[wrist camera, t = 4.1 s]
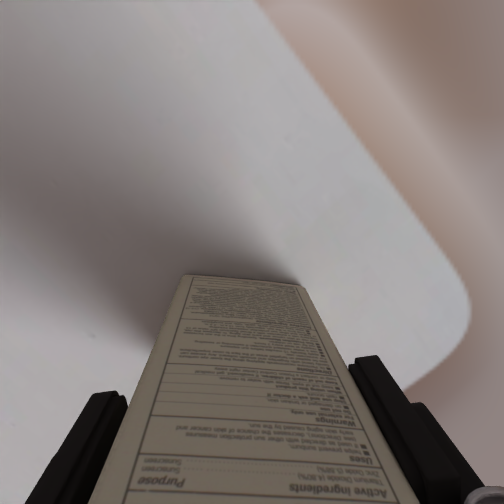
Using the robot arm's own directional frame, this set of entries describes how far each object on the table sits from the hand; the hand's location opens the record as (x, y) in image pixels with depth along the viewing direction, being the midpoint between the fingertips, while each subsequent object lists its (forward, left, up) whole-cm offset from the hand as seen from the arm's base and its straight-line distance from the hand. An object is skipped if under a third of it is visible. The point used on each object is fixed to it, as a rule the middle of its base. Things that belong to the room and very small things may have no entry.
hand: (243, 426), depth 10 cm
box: (0, 0, -6) cm, 6 cm away
